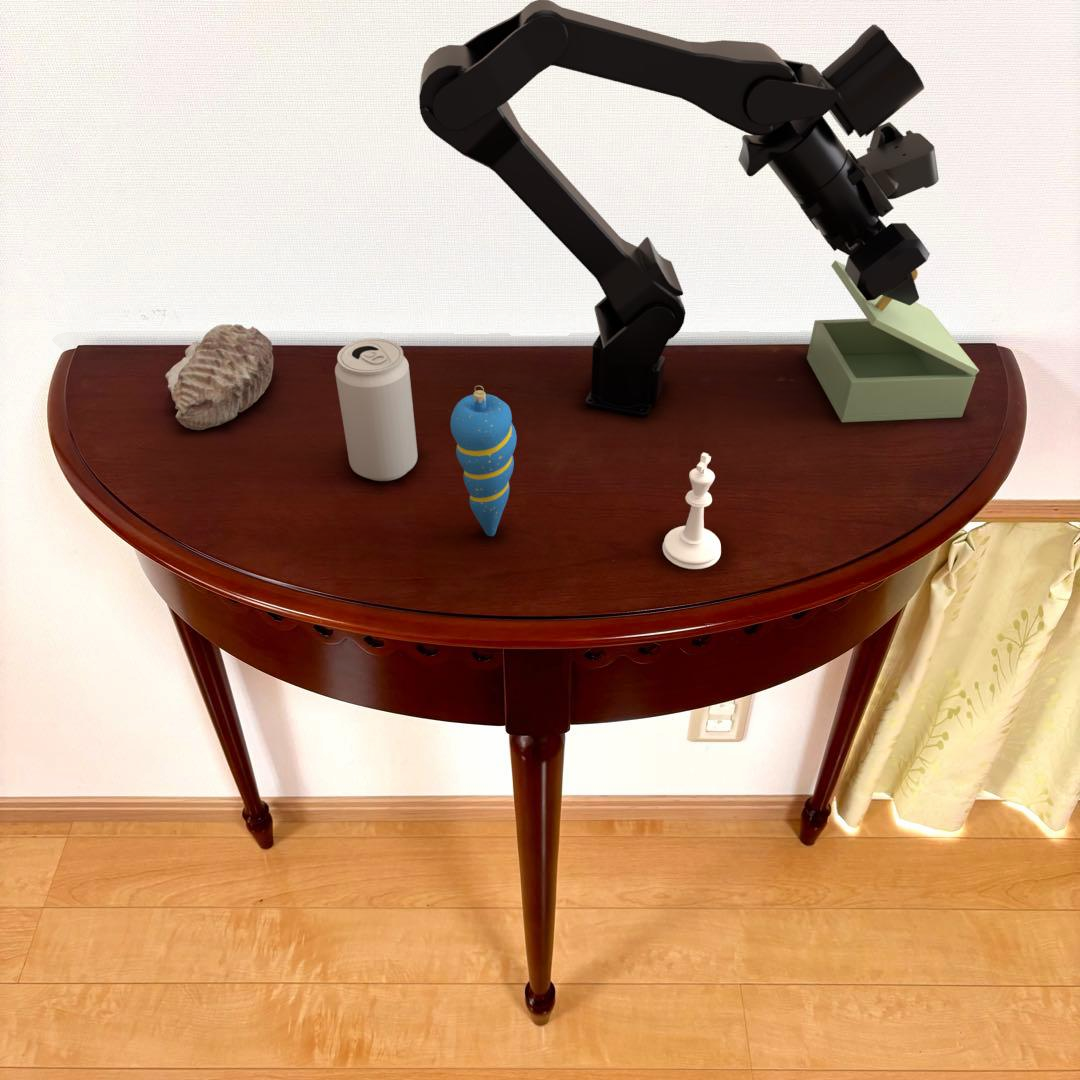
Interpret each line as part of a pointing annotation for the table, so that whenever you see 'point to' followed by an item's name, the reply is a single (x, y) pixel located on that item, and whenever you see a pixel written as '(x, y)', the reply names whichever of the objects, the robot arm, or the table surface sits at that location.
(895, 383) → the chest
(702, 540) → the chess piece
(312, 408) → the table surface
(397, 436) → the beverage can
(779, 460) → the table surface
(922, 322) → the chest lid
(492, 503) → the ornament
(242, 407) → the seashell
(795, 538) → the table surface
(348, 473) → the table surface
